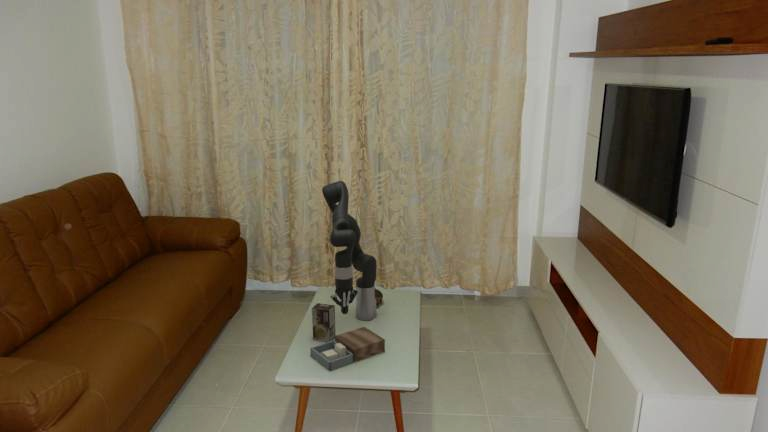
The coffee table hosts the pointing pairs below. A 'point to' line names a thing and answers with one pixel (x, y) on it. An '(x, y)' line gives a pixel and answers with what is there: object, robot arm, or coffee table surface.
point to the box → (329, 365)
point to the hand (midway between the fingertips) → (344, 313)
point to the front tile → (330, 355)
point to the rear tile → (340, 350)
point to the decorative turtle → (378, 296)
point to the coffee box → (323, 322)
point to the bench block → (362, 343)
